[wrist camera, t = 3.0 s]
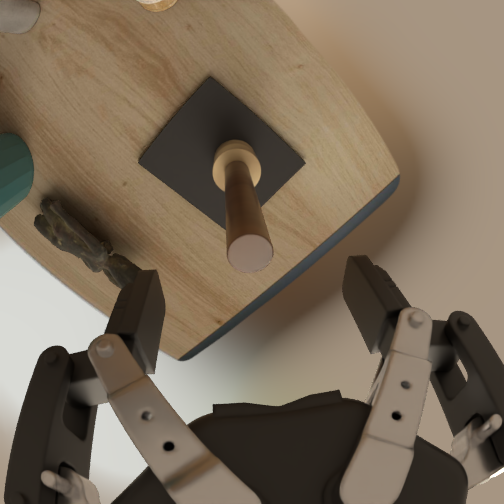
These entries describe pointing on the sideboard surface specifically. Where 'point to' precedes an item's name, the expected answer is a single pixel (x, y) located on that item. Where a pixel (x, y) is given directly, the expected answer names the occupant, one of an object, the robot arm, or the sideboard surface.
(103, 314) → the sideboard surface
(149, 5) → the spice bottle
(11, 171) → the jar
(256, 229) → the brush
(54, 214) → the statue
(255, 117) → the mat
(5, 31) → the grey hollow cylinder
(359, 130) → the sideboard surface
